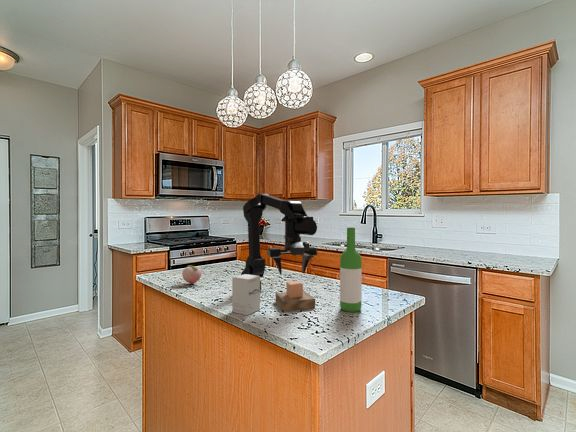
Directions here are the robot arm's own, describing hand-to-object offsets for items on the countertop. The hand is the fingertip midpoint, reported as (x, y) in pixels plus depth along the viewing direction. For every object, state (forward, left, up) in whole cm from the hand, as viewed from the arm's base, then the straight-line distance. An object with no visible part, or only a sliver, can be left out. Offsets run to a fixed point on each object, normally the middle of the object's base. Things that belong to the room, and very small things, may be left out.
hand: (292, 273), depth 123 cm
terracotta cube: (+1, -1, -8) cm, 8 cm away
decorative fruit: (-37, +45, -12) cm, 60 cm away
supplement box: (-18, -3, -12) cm, 22 cm away
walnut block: (+1, -1, -12) cm, 12 cm away
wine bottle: (+19, -12, -12) cm, 25 cm away
